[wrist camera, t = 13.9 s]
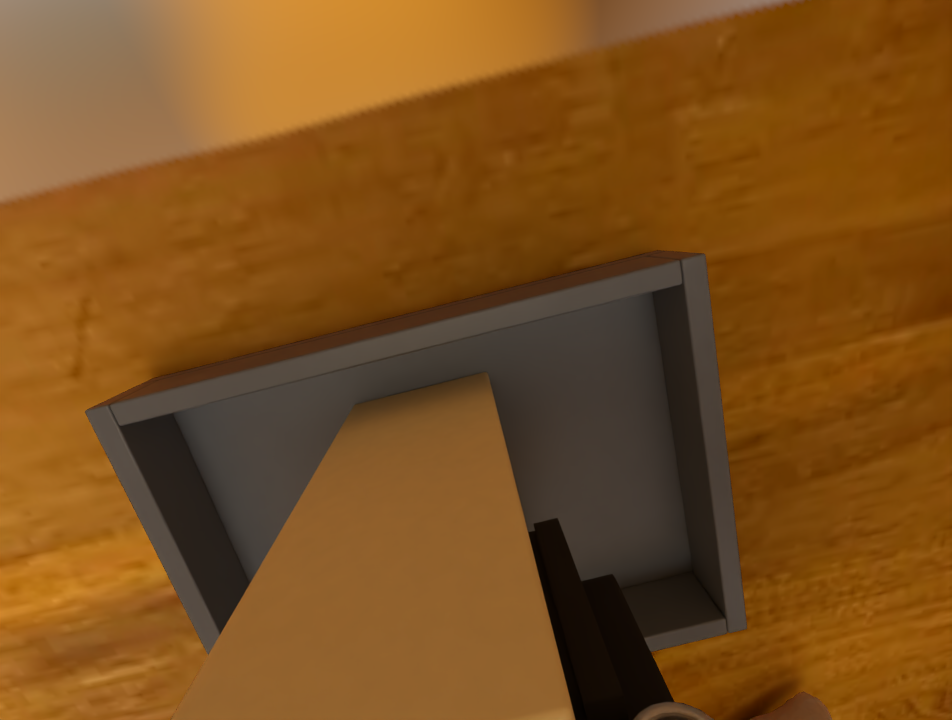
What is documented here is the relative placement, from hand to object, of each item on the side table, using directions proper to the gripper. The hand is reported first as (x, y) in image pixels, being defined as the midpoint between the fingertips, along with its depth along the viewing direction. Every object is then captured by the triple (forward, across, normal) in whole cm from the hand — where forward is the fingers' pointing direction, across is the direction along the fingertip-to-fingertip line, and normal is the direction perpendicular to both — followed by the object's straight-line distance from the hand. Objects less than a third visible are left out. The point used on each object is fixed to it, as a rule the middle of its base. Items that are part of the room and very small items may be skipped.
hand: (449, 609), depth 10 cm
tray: (+5, 0, 0) cm, 5 cm away
